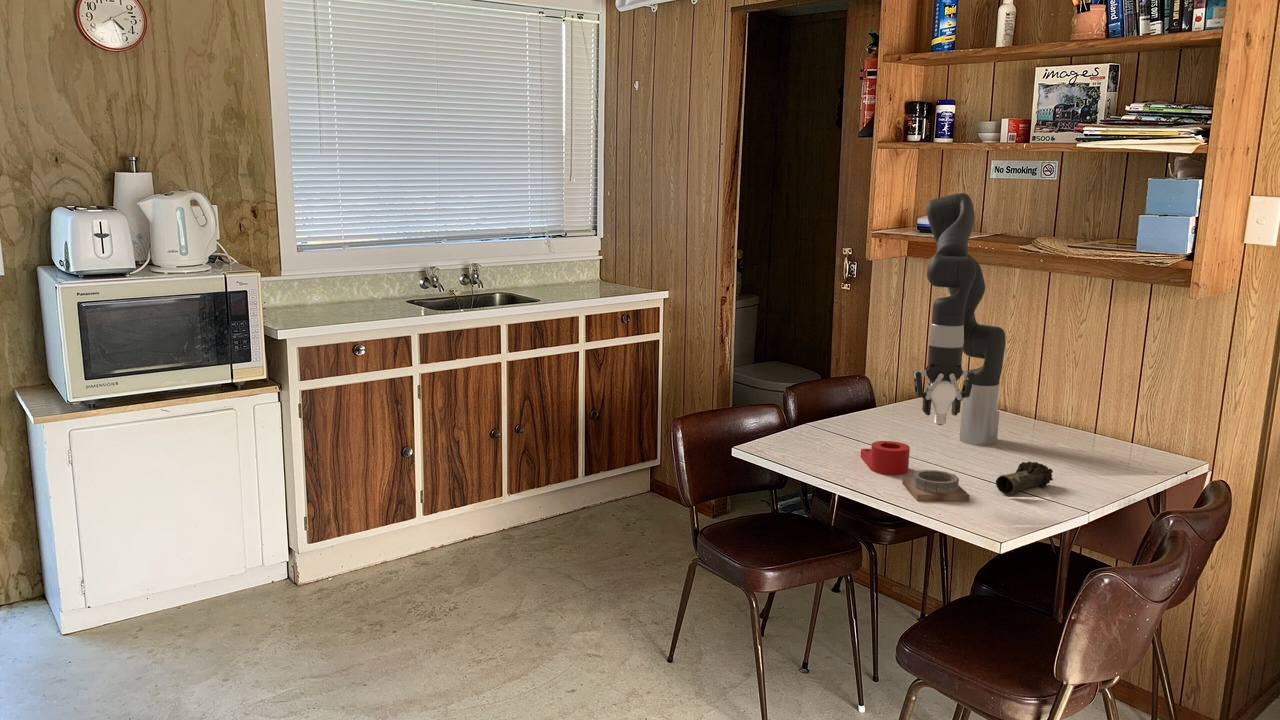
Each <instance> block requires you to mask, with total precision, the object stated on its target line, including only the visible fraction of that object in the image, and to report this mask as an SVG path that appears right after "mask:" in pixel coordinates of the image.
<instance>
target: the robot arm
mask: <svg viewBox="0 0 1280 720" xmlns="http://www.w3.org/2000/svg"><path fill="white" fill-rule="evenodd" d="M975 214H976V213H975V209H974V205H973V201H972V199H971V196H970V195H969V194H967V193H965V192H960V193H955V194H949V195H946V196H941V197H937V198H934V199H930V200H929V201H928V202H927V204H926V215H927V216H926V217H927V221H928V224H929V227H930V230H931V232H932V236H933V238H934V241H935V244H936V252H935V253H934V255H933V256H932V257H931V259H930V261H929V262H928V266H927V268H926V269H927V270H926V278H927V280H928V282H929V284H931V285H932V286H934V287H936V288H947V289H948V291H949V295H950V296H943V297H938V298H936V299H935V300H933V303H932V312H931V313H932V314H931V327H930V331H929V337H928V352H927V354H928V355H927V365H926V367H925V369H922V370H917V369H915V370H913V372H912V375H913V385H914V394H915V395H916V396H917V397H919V398H922V412H923V413H924V414H925V416H931V410H932V402H931V400H930V398H931V392H932V391H933V390H934V389H935V387H936V386H937V385H939V383H940V381H949V382H951V384H952V385H953V386H954V387H955V389H956V391H957V395H956V398H955V400H954V401H953V403H952V404H951V410H950V411H951V414H952V416H958V414H959V413H960V412H961V413H960V414H961V417H960V428H959V441H960V442H961V443H962V444H967V445H972V446H990V445H991V446H992V445H997V444H998V434H999V433H998V432H999V422H1000V421H999V420H1000V411H999V410H998V404H999V403H998V400H999V390H1000V389H999V388H1000V381H1001V380H1000V379H1001V375H1002V372H1003V365H1004V356H1005V351H1006V341H1007V340H1006V339H1007V338H1006V337H1007V336H1006V333H1005V329H1003V328H1002V327H999V326H995V325H988V324H979V323H978V322H977V320H976V314H975V312H976V309H977V308H978V306H979V304H980V302H981V301H982V299H983V297H984V295H985V292H986V283H985V279H984V278H985V277H984V274H983V270H982V266H981V265H980V263H979V262H978V261H977V259H975V258H974V257H973V256H972V255H970V254H969V250H968V249H969V246H968V244H969V239H970V238H971V234H972V231H973V228H974V226H975V225H974V224H975V219H976V218H975ZM963 354H964V355H966V356H968V357H971V358H977V359H982V360H984V361H983V365H981V366H980V367H978V368H971V369H969V370H963V368H962V364H963ZM925 376H926V377H927V378H928V382H927V383H926V385H925V389H924V386H923V381H924V379H925ZM961 377H962V379H963V383H962V388H961V391H960V387H959V384H958V380H959V379H961ZM931 383H932V386H930V385H931ZM928 389H929V390H928ZM961 402H962V404H961Z"/></svg>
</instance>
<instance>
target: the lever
mask: <svg viewBox="0 0 1280 720" xmlns="http://www.w3.org/2000/svg"><path fill="white" fill-rule="evenodd" d="M910 450H911V447H910V446H909V445H908V443H907V444H906V443H903V442H900V441H895V440H894V441H892V440H878V441H874V442H871V448H861V449H860V458H861V460H862V461H863V462H864V463H865V464H866V466H867V467H868V469H869V470H870V471H872V472H873V473H876V474H879V475H884V476H901V475H906V474H907V473H909V466H910V465H909V464H910V453H911V452H910Z"/></svg>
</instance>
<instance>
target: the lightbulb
mask: <svg viewBox="0 0 1280 720" xmlns="http://www.w3.org/2000/svg"><path fill="white" fill-rule="evenodd" d="M930 386H932V383H931V385H930ZM928 390H929V389H928ZM956 395H957V391H956V389H955V387H954V386H953V385H952V384H951V382H949V381H940V383H939V385H937V386H936V387H935V389H934V390H933V391H932V392H931V398H930V400H931V405H932V406H933V411H934V420H933V423H935V424H936V425H937V426H943V425H945V424H946V423H947V416H948V415H947V414H948V412H949V409H950V406H952V403H953V401H954V400H955V398H956Z"/></svg>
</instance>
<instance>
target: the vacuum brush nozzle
mask: <svg viewBox="0 0 1280 720" xmlns="http://www.w3.org/2000/svg"><path fill="white" fill-rule="evenodd" d="M1053 473H1054V470H1053V469H1052V468H1049V467H1048V466H1047V465H1044V464H1043V463H1039V462H1038V461H1033V462H1032V461H1027V462H1025V461H1022V462H1021V463H1019V464H1018V468H1017V469H1016V471H1015V472H1011V473H1008V474H1007V473H1006V474H1003V475H1000V476H998V477H997V478H996V480H995V485H996V488H997V489H998V491H999V492H1000V493H1002V494H1004V495H1006V496H1008V495H1011V494H1013V493H1016V492H1020V491H1023V490H1025V489H1029V488H1031V487H1041V488H1046V487H1047V485H1048V484H1050V483H1051V481H1054V479H1053V477H1052V476H1053Z"/></svg>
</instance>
